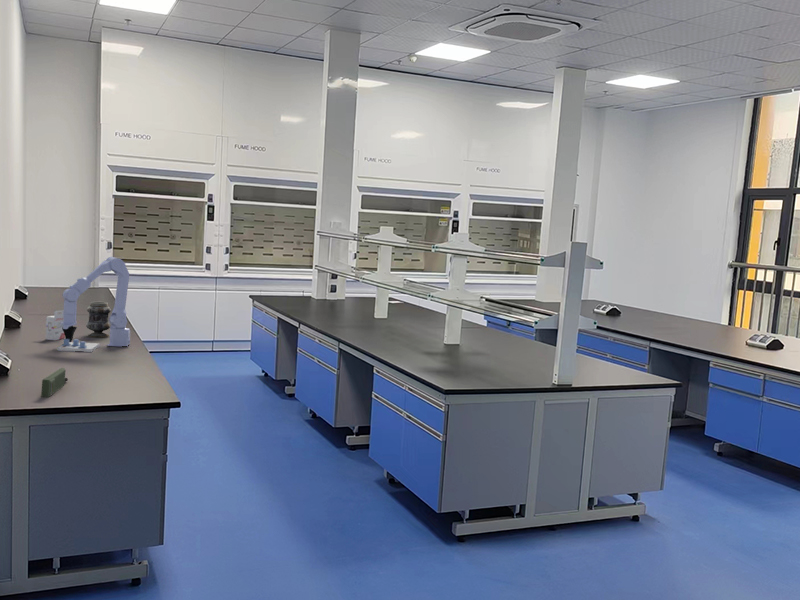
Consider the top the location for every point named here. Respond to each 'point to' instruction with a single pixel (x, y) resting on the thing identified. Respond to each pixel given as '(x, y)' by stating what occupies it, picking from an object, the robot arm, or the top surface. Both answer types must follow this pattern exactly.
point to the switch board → (75, 348)
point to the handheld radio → (53, 382)
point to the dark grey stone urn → (98, 318)
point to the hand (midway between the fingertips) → (68, 341)
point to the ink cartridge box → (55, 326)
